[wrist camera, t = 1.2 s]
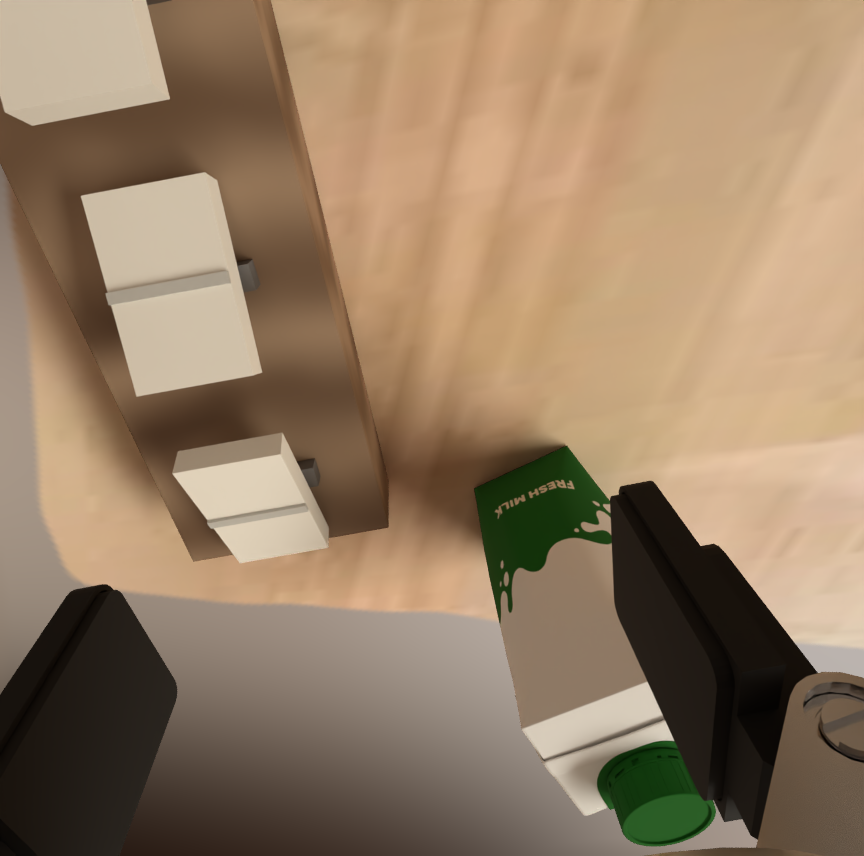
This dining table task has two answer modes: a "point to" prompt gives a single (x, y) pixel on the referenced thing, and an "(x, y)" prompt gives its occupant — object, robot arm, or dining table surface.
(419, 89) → the dining table surface
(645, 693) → the milk carton
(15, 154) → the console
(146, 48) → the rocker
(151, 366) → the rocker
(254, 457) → the rocker
